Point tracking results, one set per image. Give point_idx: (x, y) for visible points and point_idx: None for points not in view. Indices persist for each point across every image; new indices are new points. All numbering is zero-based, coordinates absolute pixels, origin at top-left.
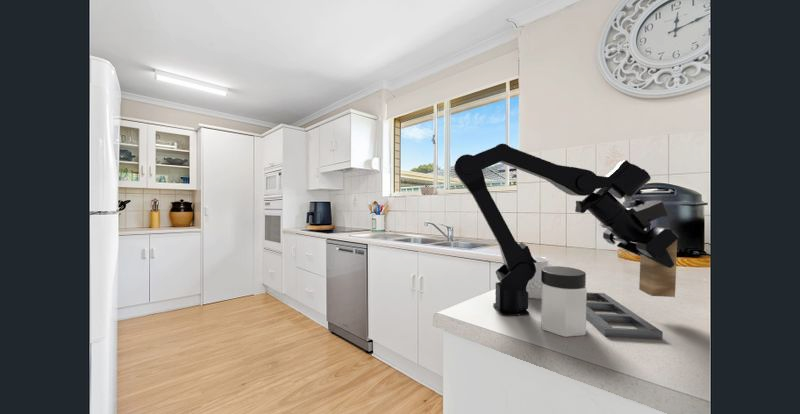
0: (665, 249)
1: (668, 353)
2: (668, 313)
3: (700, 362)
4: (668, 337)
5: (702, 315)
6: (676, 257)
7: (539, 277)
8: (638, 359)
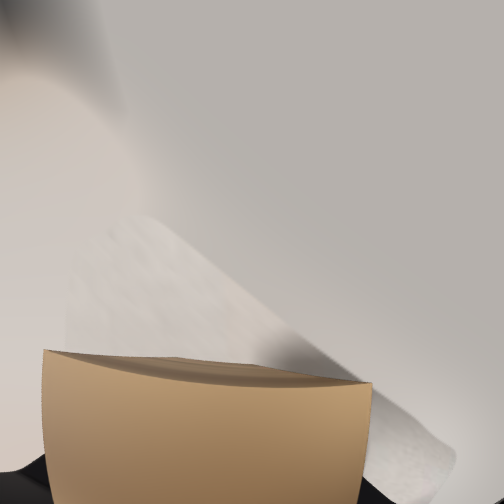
0: (364, 484)
1: (393, 455)
2: (181, 330)
3: (416, 421)
4: None
5: (194, 251)
6: (288, 371)
7: None
8: (405, 495)
